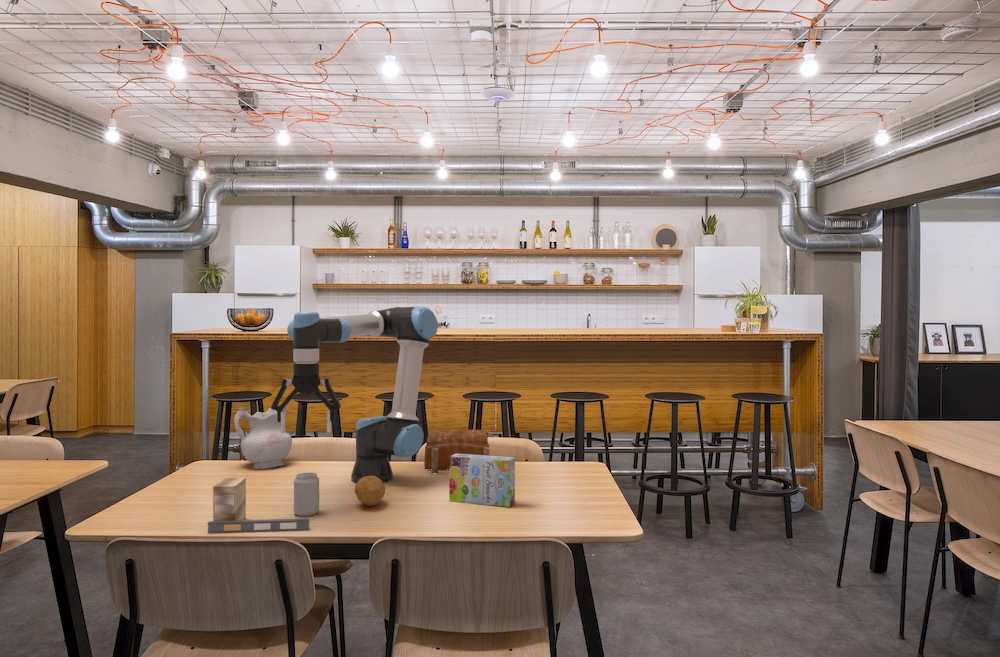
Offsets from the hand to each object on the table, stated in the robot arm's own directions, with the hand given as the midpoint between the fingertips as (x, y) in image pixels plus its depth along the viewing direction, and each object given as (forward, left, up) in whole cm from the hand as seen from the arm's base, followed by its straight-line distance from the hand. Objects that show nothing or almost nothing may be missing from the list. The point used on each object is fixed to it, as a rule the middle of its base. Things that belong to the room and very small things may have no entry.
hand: (306, 432), depth 193 cm
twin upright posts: (-49, -57, -25) cm, 79 cm away
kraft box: (+20, +8, -25) cm, 33 cm away
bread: (-48, -58, -25) cm, 79 cm away
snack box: (-54, -7, -25) cm, 60 cm away
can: (0, 0, -25) cm, 25 cm away
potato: (-18, -7, -25) cm, 32 cm away
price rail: (+10, +15, -25) cm, 30 cm away
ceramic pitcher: (+29, -65, -25) cm, 75 cm away
